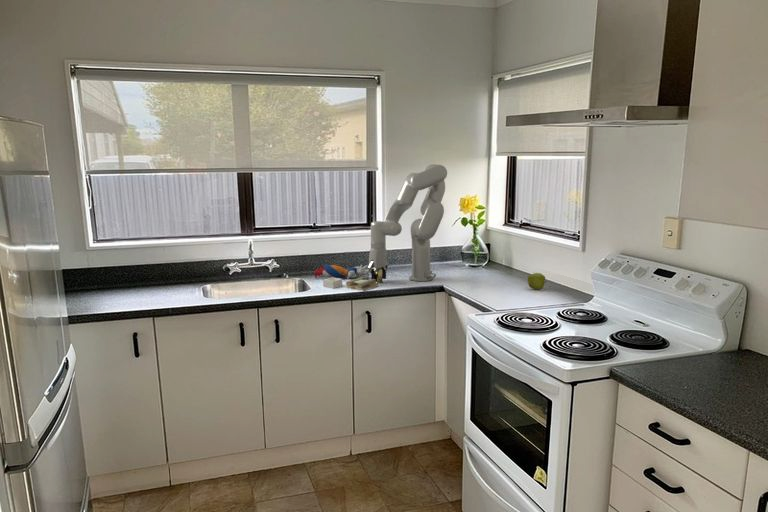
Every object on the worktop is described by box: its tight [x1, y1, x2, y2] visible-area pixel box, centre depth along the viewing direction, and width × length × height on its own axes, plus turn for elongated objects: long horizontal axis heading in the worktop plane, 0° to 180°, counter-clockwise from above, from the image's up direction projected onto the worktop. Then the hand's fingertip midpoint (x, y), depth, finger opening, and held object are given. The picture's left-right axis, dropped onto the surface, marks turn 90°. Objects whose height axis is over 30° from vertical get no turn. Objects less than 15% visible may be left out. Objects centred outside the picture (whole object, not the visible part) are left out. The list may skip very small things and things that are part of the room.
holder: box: [322, 276, 343, 289], centre depth 283 cm, size 7×7×4 cm
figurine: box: [314, 264, 370, 280], centre depth 301 cm, size 27×9×30 cm
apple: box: [527, 272, 548, 291], centre depth 270 cm, size 8×9×8 cm
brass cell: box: [376, 268, 383, 284], centre depth 290 cm, size 4×4×8 cm
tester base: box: [345, 277, 379, 291], centre depth 281 cm, size 10×12×3 cm
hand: (378, 279), depth 291 cm, fingers open, 6 cm apart
